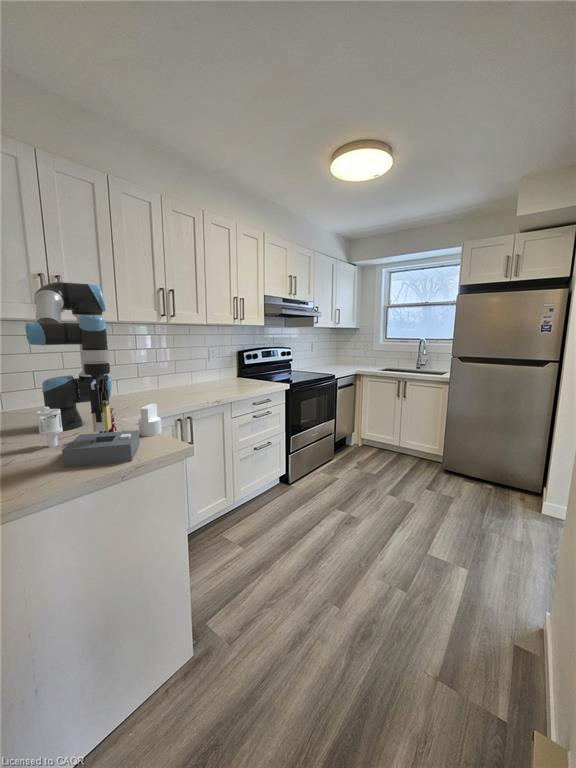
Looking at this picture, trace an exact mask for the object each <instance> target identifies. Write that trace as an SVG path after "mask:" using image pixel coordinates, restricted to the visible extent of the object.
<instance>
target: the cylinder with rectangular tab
mask: <svg viewBox="0 0 576 768" xmlns="http://www.w3.org/2000/svg"><path fill="white" fill-rule="evenodd" d="M157 405H158V404H157V403H149V404H147V405H145V406H143V407H140V419H138V430H139V436H141V435H143V436H142V437H150V436H149V435H153V436H155V435H154V434H157V433H158V434H157V435H161V434H162V430H163V429H162V418H161V417H159V416H158V407H157Z"/></svg>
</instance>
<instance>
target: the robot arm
mask: <svg viewBox="0 0 576 768" xmlns="http://www.w3.org/2000/svg"><path fill="white" fill-rule="evenodd" d="M33 301H34V305H35V306H36V309H35V319H34V321H31V322H26V323H25V325H24V326H25V328H24V329H25V337H26V340H27V342H28V344H29V345H31V346H56V345H58V346H59V345H65V346H66V345H79V353H80V354H79V355H80V362H81V363H80V365H81V371H80V372H79V373H78V377H77V378H75V377H74V375H62V376H61V375H60V376H56V377H52V378H47V379H45V380H43V382H42V383H41V385H42V393H43V402H44V407H49V408H50V409H60V412H61V421H62V429H63V431H64V432H65V431H69V430H73V429H77V428H79V427H81V426H83V425H84V423H83V418H82V416H81V415H80V413H79V411H78V409H77V404H82V403H90V408H91V411H90V414H92V413H94V416H95V426H96V432H95V433H98V432H97V431H105V420H104V412H103V409H102V400H109V401H110V398H111V396H112V384H113V383H112V376H110V375H108V374H110V373H111V368H110V366H111V365H110V363H109V362H110V356H109V349H108V338H107V337H108V335H107V325H106V319H105V317H103V313H104V312H106V311H107V310H106V304H105V303H106V302H105V299H104V294H103V292H102V288H101V287H100V286H99V285H96V284H91V283H76V282H63V281H57V282H55V281H54V282H50V283H48V284H47V283H46V284H45V285H42V286H41V287H40V288H38V289H37V291H36V292H35V293H34V296H33ZM62 310H63V311H71V316H73V317H75V318H76V322H62ZM49 413H50V412H49ZM57 415H58V414H56V415H51V417H52V416H54V417H56V416H57ZM47 418H50V417H47ZM43 420H45V419H43ZM43 422H44V421H43ZM63 431H62V432H63Z"/></svg>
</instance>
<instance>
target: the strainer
mask: <svg viewBox="0 0 576 768" xmlns="http://www.w3.org/2000/svg"><path fill="white" fill-rule="evenodd" d="M49 412H50V413H49ZM56 414H58V415H57V416H56V417H54V416H52V417H51V415H56ZM36 416H37V424H38V430H39V435H41V436H46V439H47V446H48V448H54V447H57V445H58V446H59V444H58V442H59V441H58V434H59V433H62V432H63V429H62V421H61V412H60V409H50V408H49V407H45V406H44V407H43V409H42V410H39V411H36ZM47 417H50V418H47ZM44 419H45V420H44ZM43 421H44V422H43Z"/></svg>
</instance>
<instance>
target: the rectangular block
mask: <svg viewBox="0 0 576 768" xmlns="http://www.w3.org/2000/svg"><path fill="white" fill-rule="evenodd" d="M110 408H111V405H110V399H109V400H102V409H103V412H104V420H105V431H109V430H110V428H111V427H112V424H111V414H110ZM91 419H92V428H93V433H99V431H97V432H96V426H95V416H94V413H91Z"/></svg>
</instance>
